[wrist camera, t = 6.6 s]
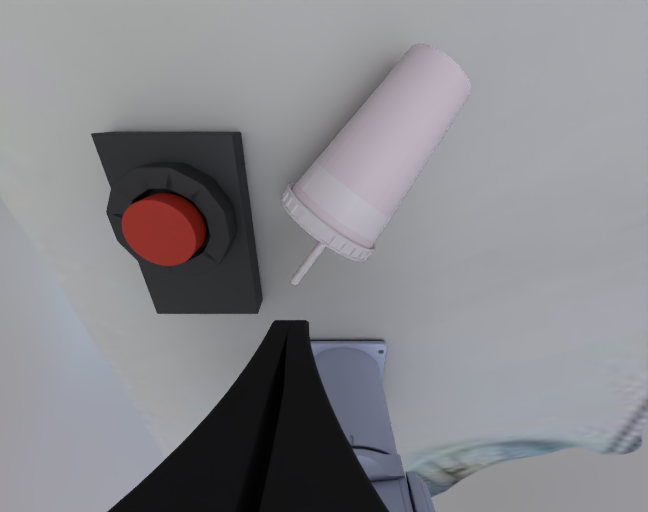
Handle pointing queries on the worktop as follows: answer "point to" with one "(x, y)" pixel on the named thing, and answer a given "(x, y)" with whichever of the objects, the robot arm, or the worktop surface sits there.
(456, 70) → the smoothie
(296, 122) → the worktop surface
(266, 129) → the worktop surface
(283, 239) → the worktop surface
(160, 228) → the power button
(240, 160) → the black base plate
